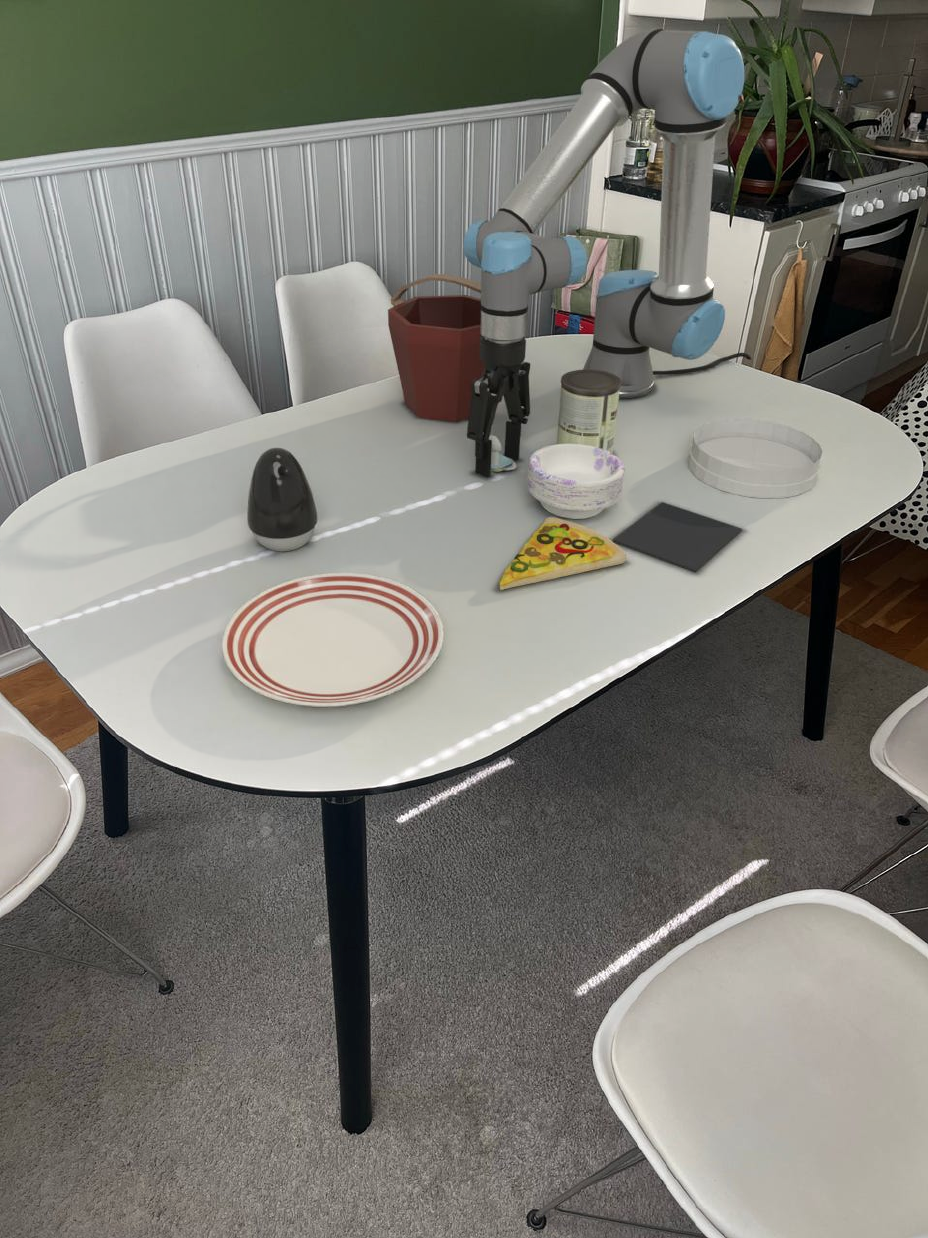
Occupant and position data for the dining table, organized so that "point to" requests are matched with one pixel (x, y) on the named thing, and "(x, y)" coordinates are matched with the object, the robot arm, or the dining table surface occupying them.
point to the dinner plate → (332, 639)
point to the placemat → (678, 536)
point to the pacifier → (499, 457)
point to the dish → (755, 458)
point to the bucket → (437, 349)
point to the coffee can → (588, 408)
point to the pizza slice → (560, 553)
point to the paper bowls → (575, 479)
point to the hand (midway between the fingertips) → (497, 465)
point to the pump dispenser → (280, 502)
